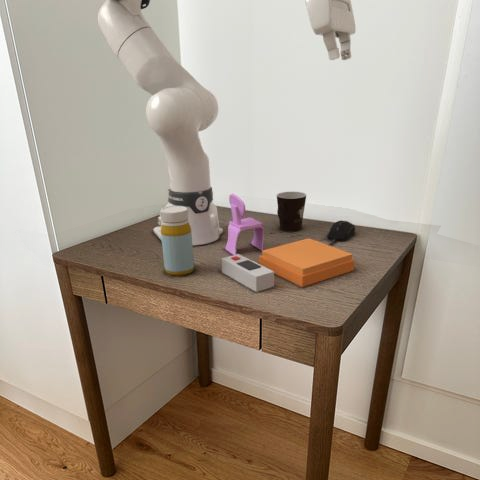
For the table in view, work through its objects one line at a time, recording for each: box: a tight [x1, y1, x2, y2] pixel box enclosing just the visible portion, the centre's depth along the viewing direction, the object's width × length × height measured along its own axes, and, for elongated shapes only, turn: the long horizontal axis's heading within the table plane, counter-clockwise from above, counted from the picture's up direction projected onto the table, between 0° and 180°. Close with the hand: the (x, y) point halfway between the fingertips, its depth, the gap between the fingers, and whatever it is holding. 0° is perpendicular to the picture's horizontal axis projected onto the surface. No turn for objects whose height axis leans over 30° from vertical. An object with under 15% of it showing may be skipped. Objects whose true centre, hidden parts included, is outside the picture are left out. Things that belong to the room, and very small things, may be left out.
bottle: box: [159, 206, 195, 277], centre depth 107 cm, size 7×7×15 cm
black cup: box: [276, 191, 307, 233], centre depth 135 cm, size 12×9×10 cm
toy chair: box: [224, 193, 265, 256], centre depth 119 cm, size 8×9×15 cm
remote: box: [221, 253, 275, 293], centre depth 104 cm, size 14×5×4 cm, turn 34°
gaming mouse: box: [327, 220, 356, 246], centre depth 129 cm, size 6×15×4 cm, turn 152°
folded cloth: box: [258, 237, 356, 288], centre depth 109 cm, size 16×16×4 cm
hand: (341, 59), depth 94 cm, fingers open, 8 cm apart
